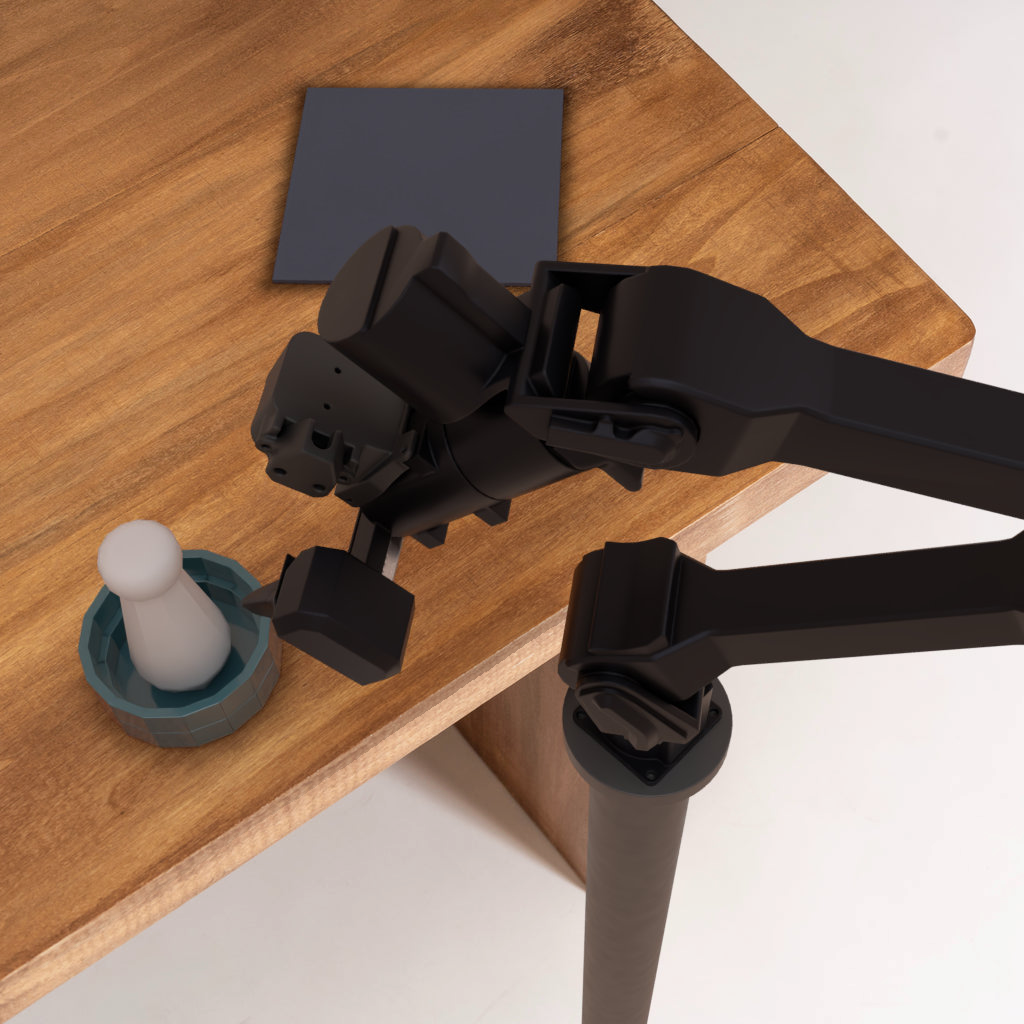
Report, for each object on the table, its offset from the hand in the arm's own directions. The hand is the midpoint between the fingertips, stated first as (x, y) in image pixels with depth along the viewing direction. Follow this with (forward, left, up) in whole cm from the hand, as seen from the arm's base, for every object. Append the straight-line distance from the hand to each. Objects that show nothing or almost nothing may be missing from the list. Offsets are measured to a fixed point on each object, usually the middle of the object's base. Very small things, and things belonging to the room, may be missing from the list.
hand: (272, 529), depth 74 cm
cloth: (+24, -32, -14) cm, 42 cm away
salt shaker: (+5, +5, -14) cm, 15 cm away
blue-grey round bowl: (+5, +5, -14) cm, 16 cm away
